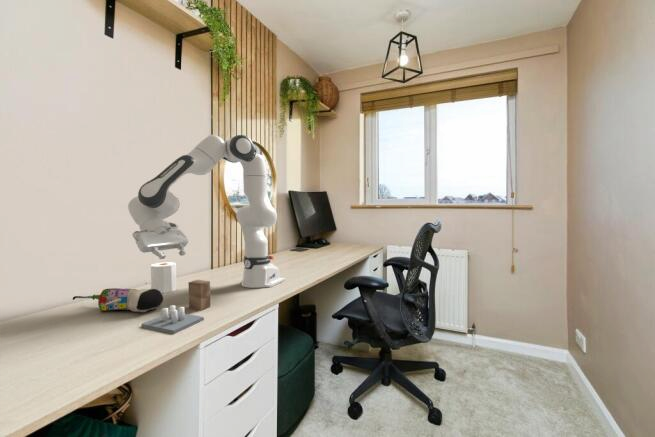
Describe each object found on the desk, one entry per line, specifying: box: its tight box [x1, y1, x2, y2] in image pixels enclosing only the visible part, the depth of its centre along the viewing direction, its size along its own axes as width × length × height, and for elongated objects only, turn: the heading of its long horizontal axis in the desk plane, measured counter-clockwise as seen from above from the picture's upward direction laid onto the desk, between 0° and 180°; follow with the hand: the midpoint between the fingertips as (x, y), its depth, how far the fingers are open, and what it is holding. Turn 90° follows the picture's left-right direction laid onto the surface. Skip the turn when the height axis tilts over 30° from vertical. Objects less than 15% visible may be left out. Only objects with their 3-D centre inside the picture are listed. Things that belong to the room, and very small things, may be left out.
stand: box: [140, 304, 205, 335], centre depth 99 cm, size 12×14×5 cm
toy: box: [72, 287, 164, 313], centre depth 112 cm, size 23×9×30 cm
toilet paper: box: [150, 261, 177, 294], centre depth 136 cm, size 10×10×12 cm
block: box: [188, 279, 211, 312], centre depth 113 cm, size 4×6×10 cm
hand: (173, 256), depth 117 cm, fingers open, 8 cm apart
